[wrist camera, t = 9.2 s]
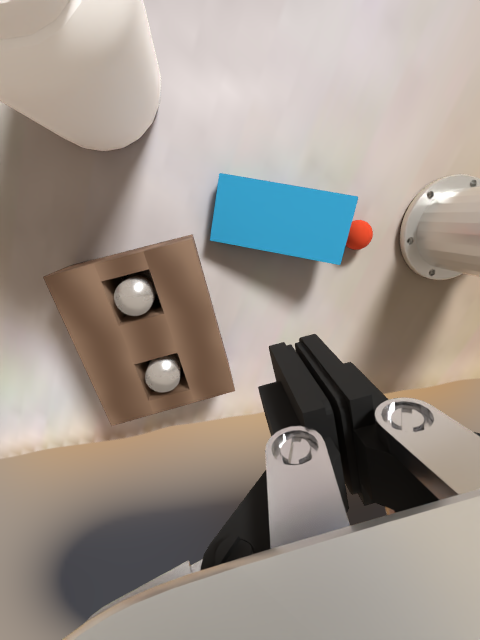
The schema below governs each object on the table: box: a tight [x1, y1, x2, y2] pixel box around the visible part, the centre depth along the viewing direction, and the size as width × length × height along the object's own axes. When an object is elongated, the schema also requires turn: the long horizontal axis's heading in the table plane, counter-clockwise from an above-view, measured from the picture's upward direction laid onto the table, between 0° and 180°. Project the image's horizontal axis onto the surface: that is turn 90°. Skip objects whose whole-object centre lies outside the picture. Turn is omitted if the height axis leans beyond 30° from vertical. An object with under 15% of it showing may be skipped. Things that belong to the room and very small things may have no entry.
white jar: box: [0, 0, 161, 151], centre depth 21 cm, size 12×12×20 cm
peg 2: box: [145, 353, 181, 392], centre depth 37 cm, size 4×4×7 cm
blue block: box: [210, 173, 373, 265], centre depth 36 cm, size 7×7×18 cm
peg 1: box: [114, 269, 157, 316], centre depth 34 cm, size 4×4×7 cm
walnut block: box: [43, 234, 235, 426], centre depth 35 cm, size 14×17×7 cm
